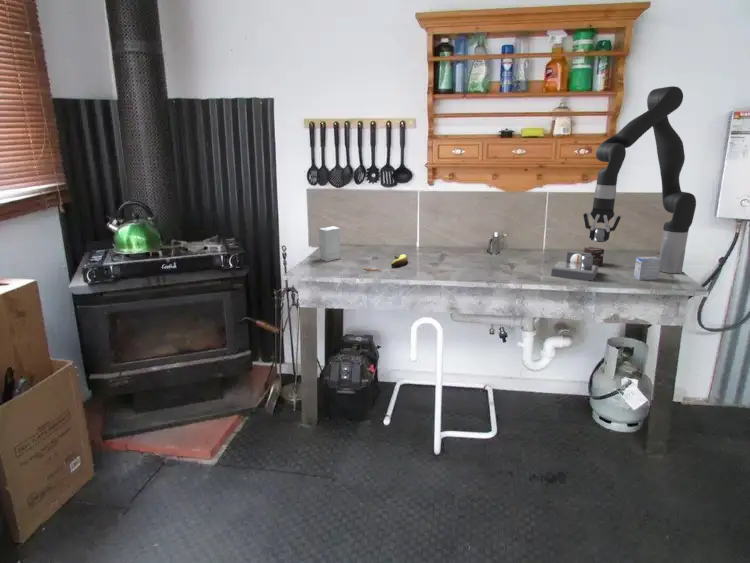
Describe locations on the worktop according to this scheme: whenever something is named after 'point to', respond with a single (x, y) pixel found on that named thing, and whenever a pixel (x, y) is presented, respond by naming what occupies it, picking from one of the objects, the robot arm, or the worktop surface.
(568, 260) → the dial scale
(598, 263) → the box
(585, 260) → the spacer
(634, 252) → the worktop surface
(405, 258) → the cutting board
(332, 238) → the skincare box
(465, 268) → the worktop surface
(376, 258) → the worktop surface
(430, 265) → the worktop surface
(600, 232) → the spacer
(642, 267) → the medicine box
